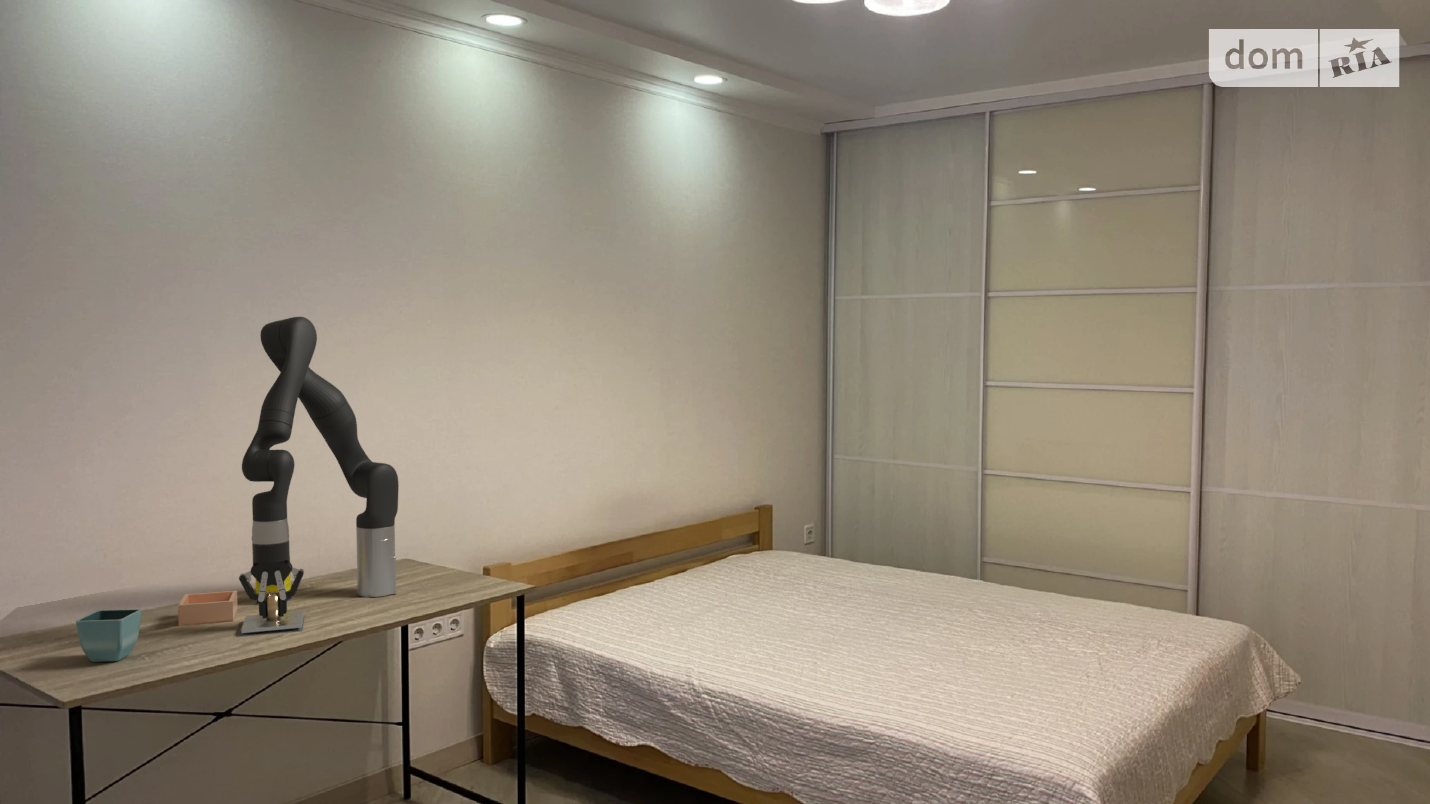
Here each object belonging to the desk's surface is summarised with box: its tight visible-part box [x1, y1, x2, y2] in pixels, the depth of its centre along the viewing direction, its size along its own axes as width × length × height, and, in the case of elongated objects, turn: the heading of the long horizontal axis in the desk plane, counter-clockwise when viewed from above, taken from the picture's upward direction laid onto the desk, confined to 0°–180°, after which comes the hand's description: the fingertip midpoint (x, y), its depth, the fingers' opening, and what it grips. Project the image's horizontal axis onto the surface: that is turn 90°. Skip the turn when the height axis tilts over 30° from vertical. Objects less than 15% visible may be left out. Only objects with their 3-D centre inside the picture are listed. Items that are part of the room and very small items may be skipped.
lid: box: [242, 591, 304, 633], centre depth 228 cm, size 12×12×7 cm
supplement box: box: [255, 572, 292, 605], centre depth 252 cm, size 6×6×11 cm
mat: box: [237, 616, 305, 638], centre depth 228 cm, size 13×13×1 cm
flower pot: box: [75, 608, 143, 663], centre depth 206 cm, size 9×9×9 cm
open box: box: [177, 590, 239, 627], centre depth 236 cm, size 11×11×5 cm
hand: (273, 616), depth 228 cm, fingers closed on lid, 3 cm apart
